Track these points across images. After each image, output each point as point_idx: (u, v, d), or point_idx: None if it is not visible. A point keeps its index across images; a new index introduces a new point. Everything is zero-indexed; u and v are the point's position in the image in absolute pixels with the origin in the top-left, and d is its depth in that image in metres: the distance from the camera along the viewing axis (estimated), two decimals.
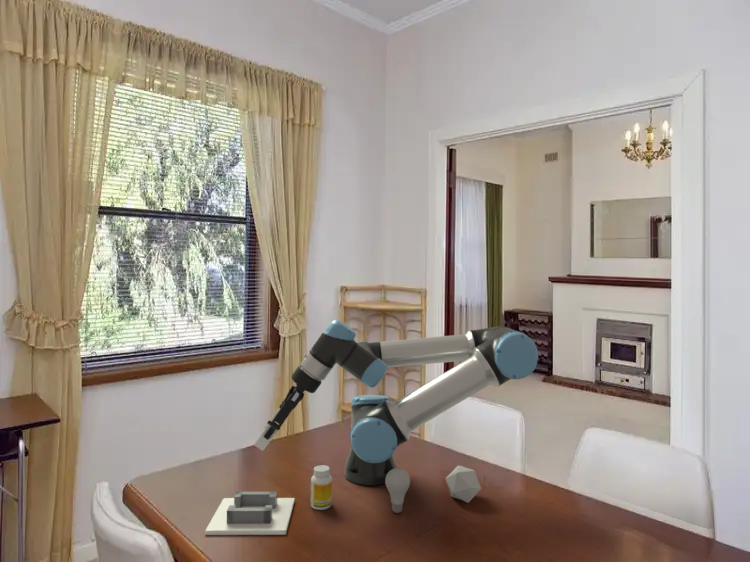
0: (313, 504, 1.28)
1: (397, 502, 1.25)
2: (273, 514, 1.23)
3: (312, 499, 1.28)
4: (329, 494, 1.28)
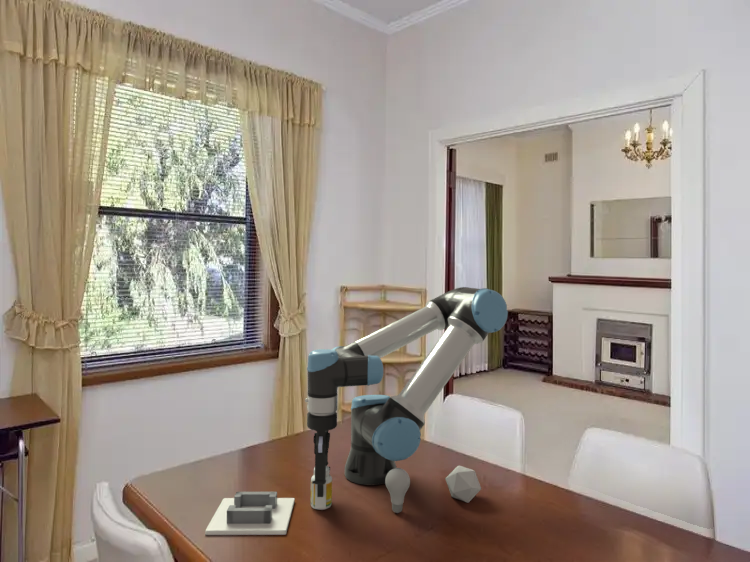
0: (313, 504, 1.28)
1: (397, 502, 1.25)
2: (273, 514, 1.23)
3: (312, 499, 1.28)
4: (329, 494, 1.28)
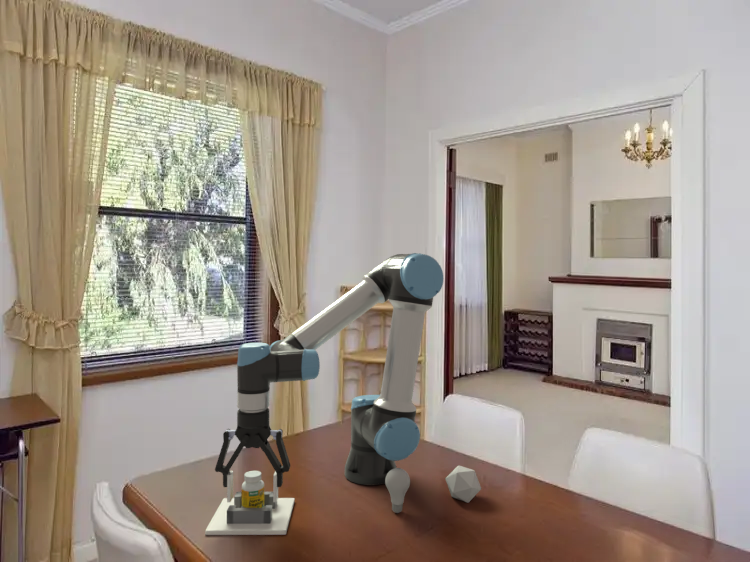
0: None
1: (397, 502, 1.25)
2: (273, 514, 1.23)
3: None
4: (244, 502, 1.21)
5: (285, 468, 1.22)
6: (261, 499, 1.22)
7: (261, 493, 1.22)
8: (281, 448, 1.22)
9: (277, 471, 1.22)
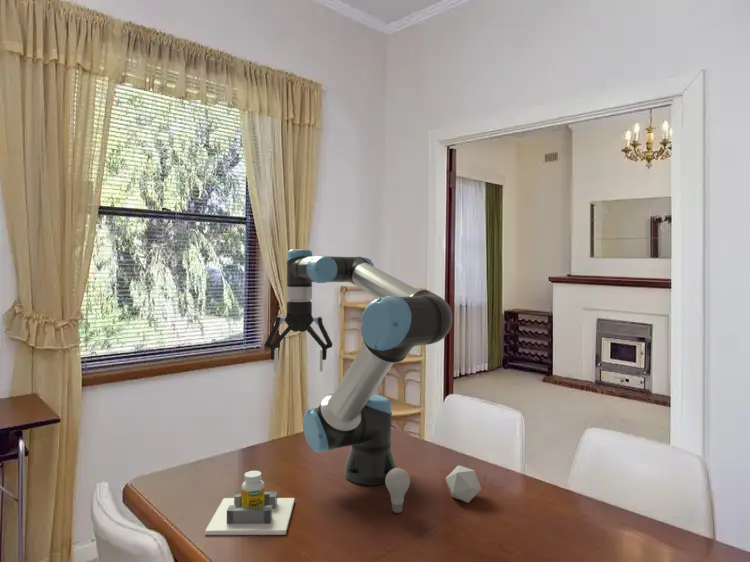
0: None
1: (397, 502, 1.25)
2: (273, 514, 1.23)
3: None
4: (244, 502, 1.21)
5: (329, 344, 1.55)
6: (261, 499, 1.22)
7: (261, 493, 1.22)
8: (323, 329, 1.54)
9: (322, 347, 1.55)
